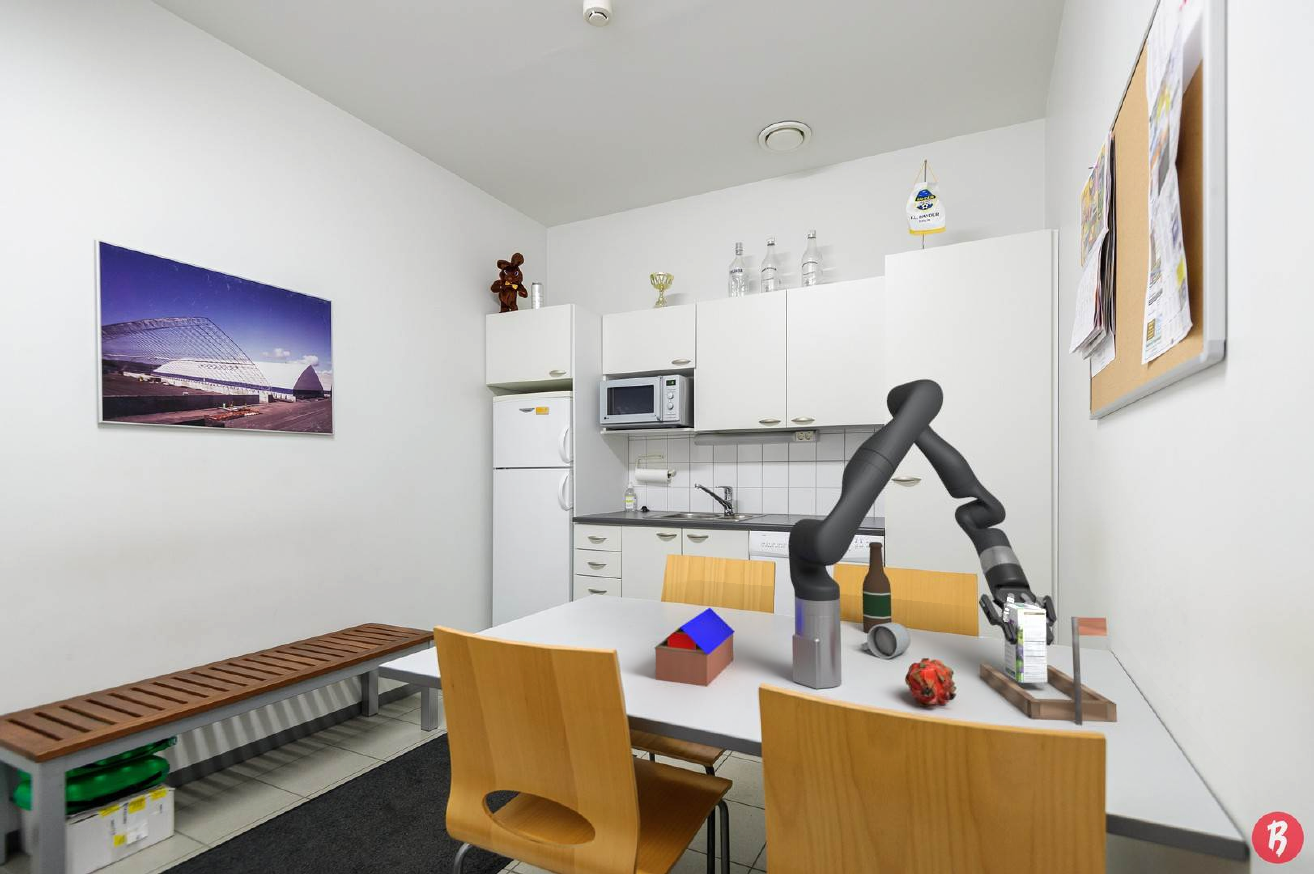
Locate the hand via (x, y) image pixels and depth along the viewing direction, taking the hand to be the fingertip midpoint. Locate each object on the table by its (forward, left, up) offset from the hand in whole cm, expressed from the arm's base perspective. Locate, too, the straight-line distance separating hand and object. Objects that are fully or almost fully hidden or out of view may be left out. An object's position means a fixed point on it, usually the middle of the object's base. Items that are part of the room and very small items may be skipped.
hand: (1031, 642), depth 124 cm
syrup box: (+2, +2, -8) cm, 8 cm away
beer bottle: (+18, +45, -10) cm, 49 cm away
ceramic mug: (+1, +33, -10) cm, 34 cm away
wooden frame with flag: (-3, -3, -10) cm, 10 cm away
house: (-41, +53, -10) cm, 68 cm away
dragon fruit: (-21, +10, -10) cm, 25 cm away
